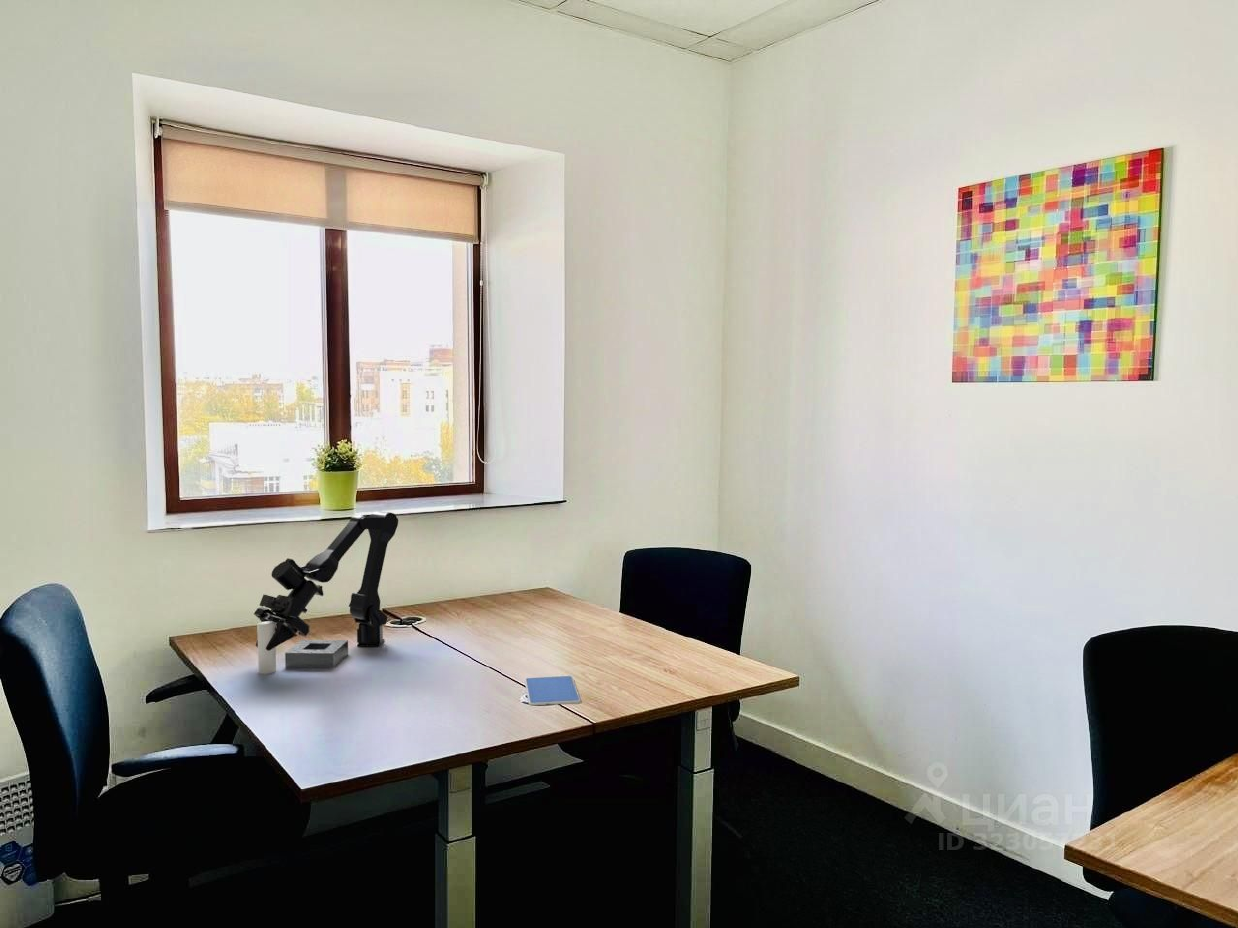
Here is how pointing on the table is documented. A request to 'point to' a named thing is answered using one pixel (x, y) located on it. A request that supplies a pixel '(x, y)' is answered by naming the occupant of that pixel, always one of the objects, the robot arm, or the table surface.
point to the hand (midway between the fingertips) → (261, 648)
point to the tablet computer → (551, 690)
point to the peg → (264, 656)
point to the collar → (316, 654)
